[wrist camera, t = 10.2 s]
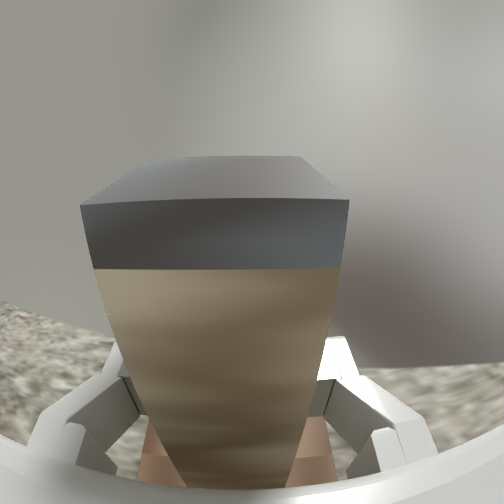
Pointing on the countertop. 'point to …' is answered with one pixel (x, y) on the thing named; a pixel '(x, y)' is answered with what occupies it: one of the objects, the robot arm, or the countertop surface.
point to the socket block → (302, 474)
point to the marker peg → (221, 304)
